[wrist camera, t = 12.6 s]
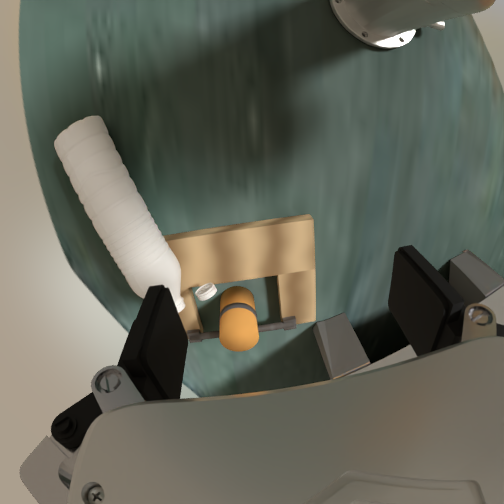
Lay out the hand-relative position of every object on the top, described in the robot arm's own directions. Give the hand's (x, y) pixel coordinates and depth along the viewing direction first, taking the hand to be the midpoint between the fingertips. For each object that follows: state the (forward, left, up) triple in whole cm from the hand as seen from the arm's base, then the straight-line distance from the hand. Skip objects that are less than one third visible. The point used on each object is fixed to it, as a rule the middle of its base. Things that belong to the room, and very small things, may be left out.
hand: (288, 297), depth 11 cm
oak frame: (+4, +14, -25) cm, 29 cm away
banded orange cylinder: (+4, +18, -25) cm, 31 cm away
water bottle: (+18, -10, -22) cm, 30 cm away
